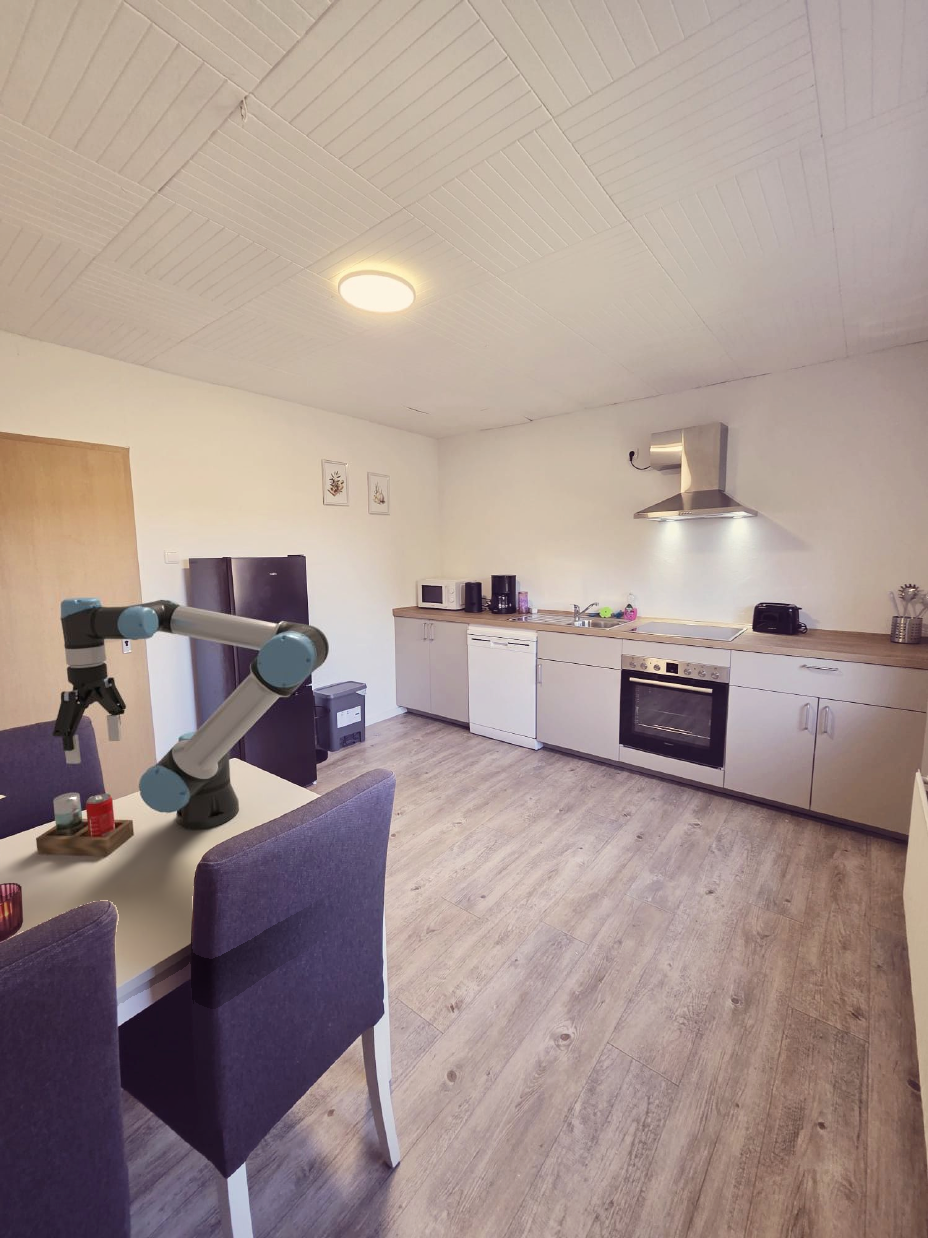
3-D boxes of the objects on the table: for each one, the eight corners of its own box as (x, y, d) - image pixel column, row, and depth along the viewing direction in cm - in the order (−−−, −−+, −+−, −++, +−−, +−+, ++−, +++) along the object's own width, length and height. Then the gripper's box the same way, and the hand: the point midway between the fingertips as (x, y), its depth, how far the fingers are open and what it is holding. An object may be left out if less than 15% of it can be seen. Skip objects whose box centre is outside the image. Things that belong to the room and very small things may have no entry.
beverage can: (92, 853, 121) (87, 806, 119) (88, 844, 124) (83, 798, 123) (118, 845, 124) (114, 798, 122) (113, 836, 128) (109, 791, 126)
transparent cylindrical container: (89, 838, 127) (85, 792, 125) (73, 850, 122) (68, 802, 120) (69, 837, 127) (64, 792, 125) (52, 849, 122) (47, 802, 120)
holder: (133, 835, 128) (132, 820, 128) (107, 856, 120) (106, 840, 119) (68, 833, 129) (67, 818, 129) (37, 854, 120) (35, 838, 120)
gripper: (108, 653, 131) (116, 732, 134) (24, 677, 107) (36, 773, 110) (137, 653, 131) (144, 732, 134) (59, 677, 107) (70, 774, 109)
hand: (95, 751), depth 122 cm, fingers open, 13 cm apart
